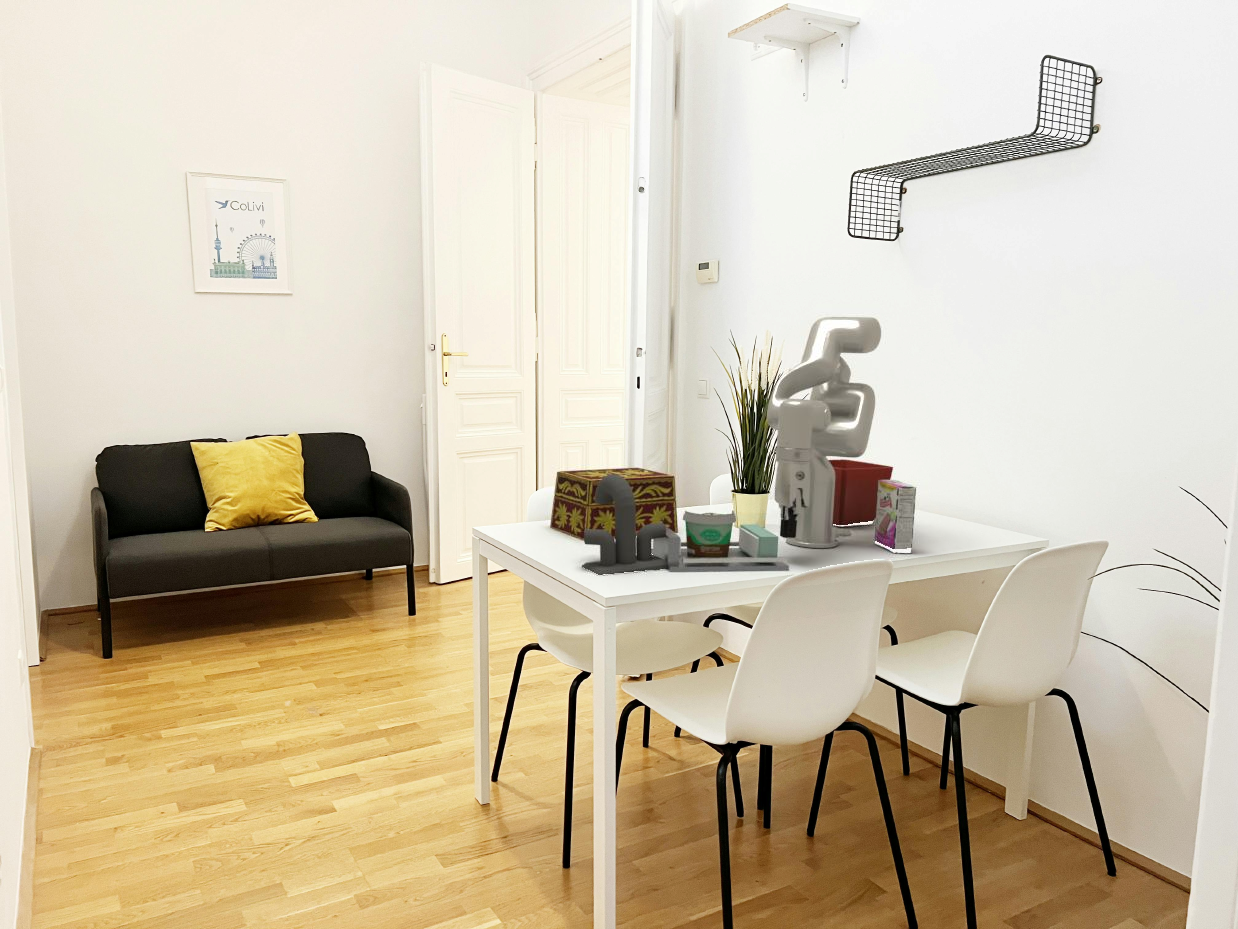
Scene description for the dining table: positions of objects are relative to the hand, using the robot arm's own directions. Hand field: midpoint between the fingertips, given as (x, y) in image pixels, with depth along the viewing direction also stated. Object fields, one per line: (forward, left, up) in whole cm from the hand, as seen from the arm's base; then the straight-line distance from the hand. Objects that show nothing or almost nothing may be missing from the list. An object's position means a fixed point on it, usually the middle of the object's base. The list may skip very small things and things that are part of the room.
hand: (787, 537), depth 207 cm
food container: (+17, -1, -5) cm, 18 cm away
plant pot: (-34, -46, -6) cm, 57 cm away
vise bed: (+16, -1, -6) cm, 17 cm away
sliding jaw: (+7, -1, -4) cm, 8 cm away
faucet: (+39, +1, -6) cm, 39 cm away
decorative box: (+33, -36, -6) cm, 49 cm away
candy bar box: (-32, -12, -6) cm, 34 cm away
